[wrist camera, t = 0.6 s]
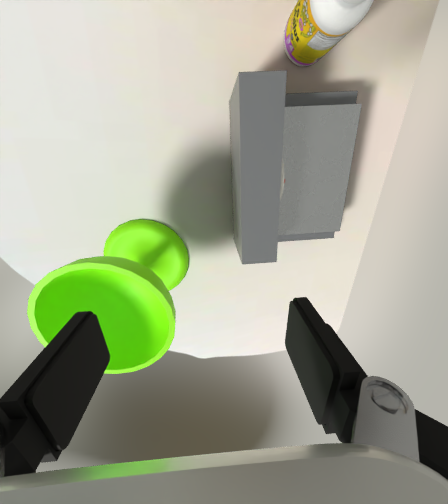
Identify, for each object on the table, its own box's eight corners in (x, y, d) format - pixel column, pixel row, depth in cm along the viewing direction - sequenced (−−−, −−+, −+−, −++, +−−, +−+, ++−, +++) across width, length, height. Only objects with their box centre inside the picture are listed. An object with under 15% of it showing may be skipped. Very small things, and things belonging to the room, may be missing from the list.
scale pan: (272, 109, 29) (274, 107, 28) (356, 105, 29) (361, 103, 28) (267, 233, 36) (269, 235, 35) (335, 229, 36) (339, 231, 35)
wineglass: (204, 270, 42) (201, 339, 26) (140, 306, 45) (100, 390, 28) (154, 202, 37) (110, 233, 20) (85, 247, 39) (-8, 309, 22)
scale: (229, 101, 32) (239, 72, 21) (345, 97, 32) (407, 66, 22) (233, 239, 40) (242, 264, 30) (325, 232, 41) (363, 255, 31)
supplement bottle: (288, 1, 28) (347, -122, 16) (334, 11, 28) (424, -97, 17) (277, 64, 30) (321, -1, 18) (320, 72, 31) (389, 16, 19)
